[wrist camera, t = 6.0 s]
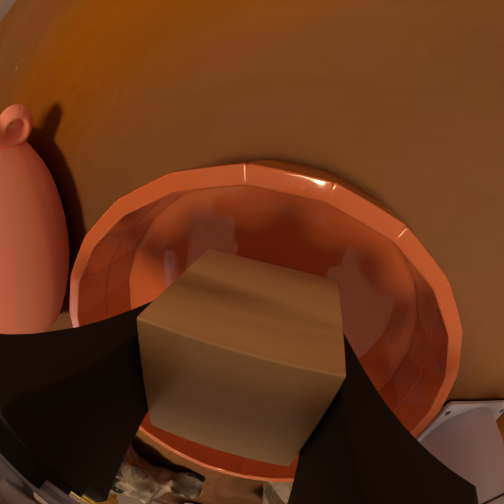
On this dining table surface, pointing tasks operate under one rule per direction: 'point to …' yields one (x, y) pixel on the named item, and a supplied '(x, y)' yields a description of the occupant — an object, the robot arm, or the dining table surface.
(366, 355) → the bowl
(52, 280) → the teapot
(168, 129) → the dining table surface
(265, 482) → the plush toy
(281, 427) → the block
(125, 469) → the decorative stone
